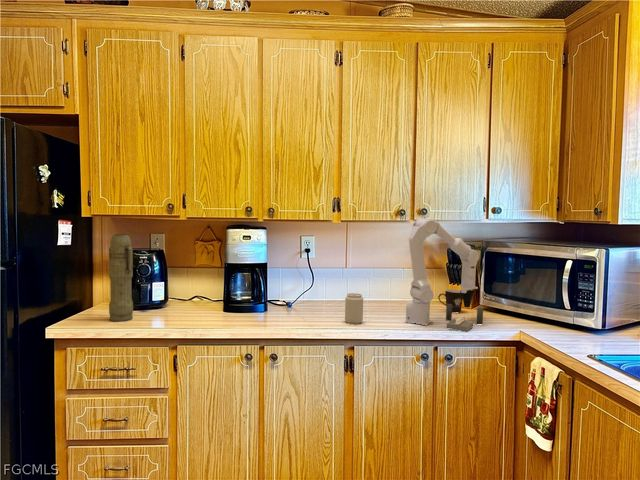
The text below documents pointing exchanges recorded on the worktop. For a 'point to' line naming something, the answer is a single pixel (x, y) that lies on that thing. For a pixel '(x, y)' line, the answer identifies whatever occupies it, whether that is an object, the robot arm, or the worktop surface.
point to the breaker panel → (460, 325)
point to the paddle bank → (460, 320)
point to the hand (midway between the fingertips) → (467, 307)
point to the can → (354, 308)
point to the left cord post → (449, 311)
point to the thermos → (120, 278)
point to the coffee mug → (453, 299)
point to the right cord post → (479, 315)
